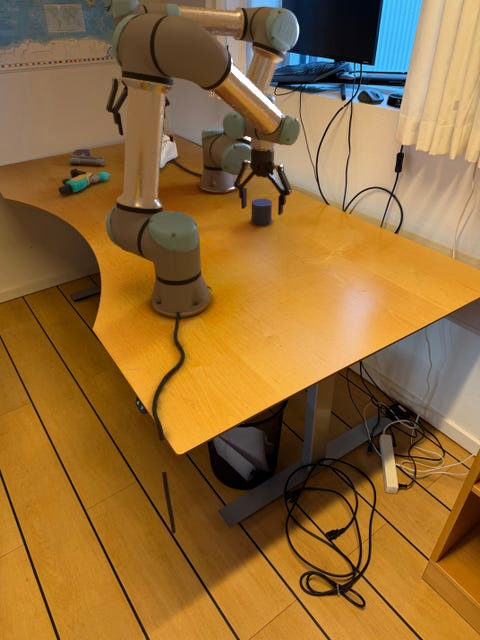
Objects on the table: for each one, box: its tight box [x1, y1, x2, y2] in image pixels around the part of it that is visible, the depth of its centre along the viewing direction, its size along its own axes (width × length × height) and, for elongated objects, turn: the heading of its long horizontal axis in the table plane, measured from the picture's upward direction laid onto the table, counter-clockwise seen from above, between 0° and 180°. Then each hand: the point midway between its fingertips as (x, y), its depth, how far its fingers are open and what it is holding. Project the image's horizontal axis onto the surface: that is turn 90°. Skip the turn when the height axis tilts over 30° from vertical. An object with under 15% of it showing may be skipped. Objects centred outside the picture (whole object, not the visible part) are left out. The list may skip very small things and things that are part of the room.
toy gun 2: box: [58, 168, 111, 196], centre depth 194 cm, size 4×26×15 cm
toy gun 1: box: [67, 148, 106, 167], centre depth 221 cm, size 4×19×15 cm
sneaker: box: [160, 133, 179, 169], centre depth 214 cm, size 10×29×12 cm, turn 163°
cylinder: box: [251, 198, 273, 227], centre depth 164 cm, size 7×7×7 cm
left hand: (262, 210), depth 164 cm, fingers open, 13 cm apart
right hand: (141, 131), depth 156 cm, fingers open, 13 cm apart
